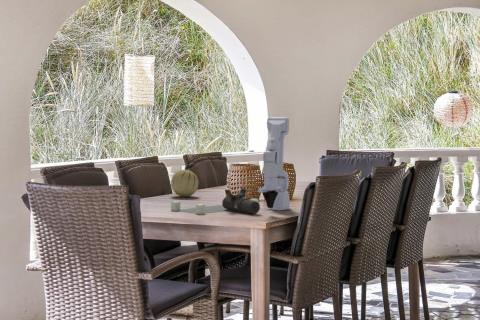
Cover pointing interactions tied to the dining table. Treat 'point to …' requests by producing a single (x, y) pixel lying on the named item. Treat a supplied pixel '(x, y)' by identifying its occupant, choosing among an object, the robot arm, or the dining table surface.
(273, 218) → the dining table surface
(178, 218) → the dining table surface
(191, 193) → the cantaloupe
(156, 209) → the dining table surface
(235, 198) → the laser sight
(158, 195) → the dining table surface
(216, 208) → the bay
